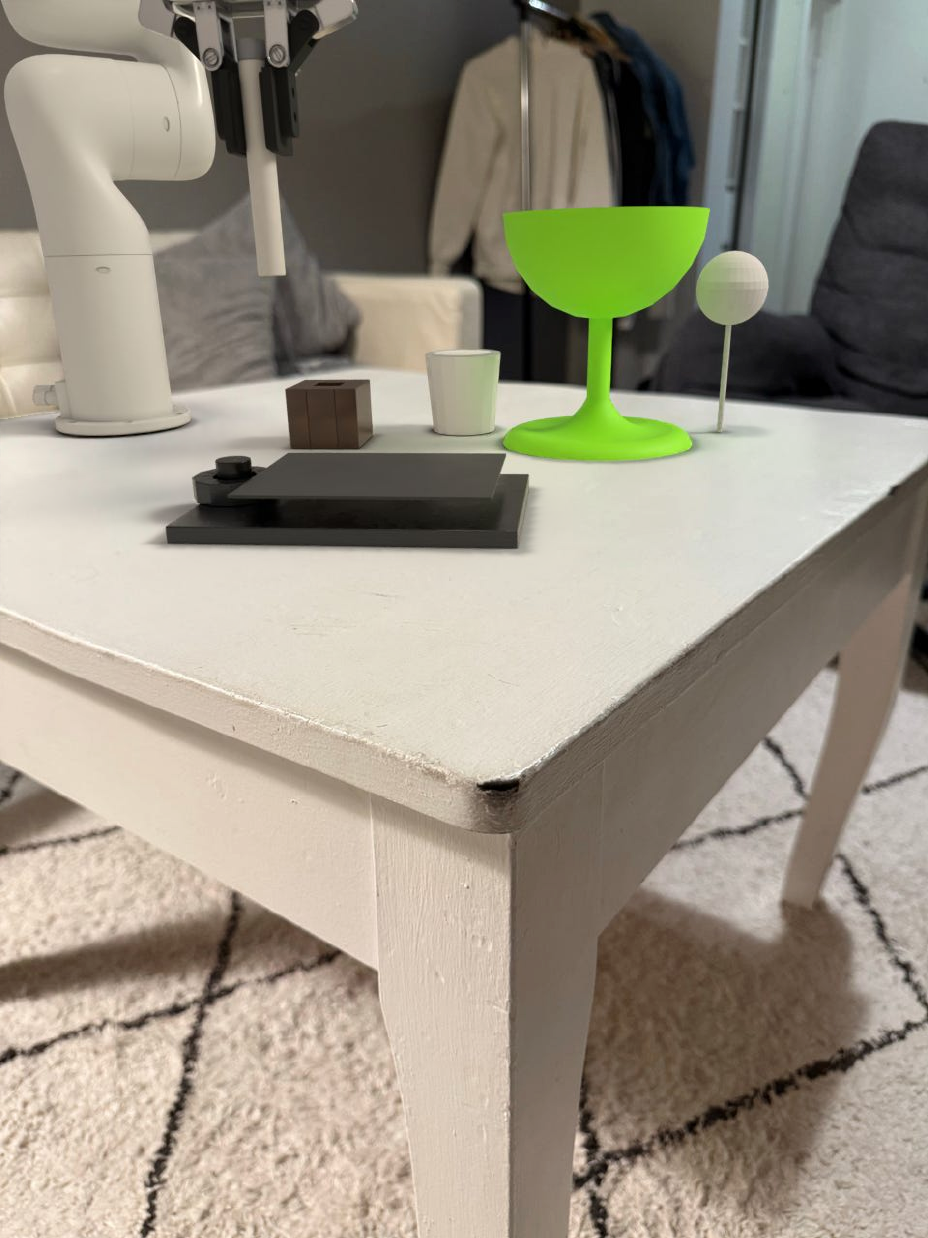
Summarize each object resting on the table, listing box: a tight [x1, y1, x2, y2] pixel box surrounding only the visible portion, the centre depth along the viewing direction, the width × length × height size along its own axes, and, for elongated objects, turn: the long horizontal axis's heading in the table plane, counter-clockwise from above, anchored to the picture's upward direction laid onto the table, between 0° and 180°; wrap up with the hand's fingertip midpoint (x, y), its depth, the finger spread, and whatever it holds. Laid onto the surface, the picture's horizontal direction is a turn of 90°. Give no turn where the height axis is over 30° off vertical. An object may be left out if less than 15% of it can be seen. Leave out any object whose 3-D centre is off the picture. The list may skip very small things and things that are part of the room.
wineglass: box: [501, 205, 711, 462], centre depth 75 cm, size 16×16×18 cm
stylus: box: [235, 37, 287, 277], centre depth 52 cm, size 2×2×12 cm
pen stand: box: [284, 379, 374, 450], centre depth 80 cm, size 6×6×5 cm
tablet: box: [165, 465, 530, 550], centre depth 57 cm, size 21×14×2 cm
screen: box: [227, 452, 507, 501], centre depth 56 cm, size 15×12×1 cm
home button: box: [214, 455, 253, 480], centre depth 57 cm, size 2×2×1 cm
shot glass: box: [424, 348, 501, 436], centre depth 84 cm, size 7×7×7 cm
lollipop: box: [695, 250, 769, 433], centre depth 79 cm, size 6×6×15 cm
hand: (260, 152), depth 52 cm, fingers closed on stylus, 1 cm apart
